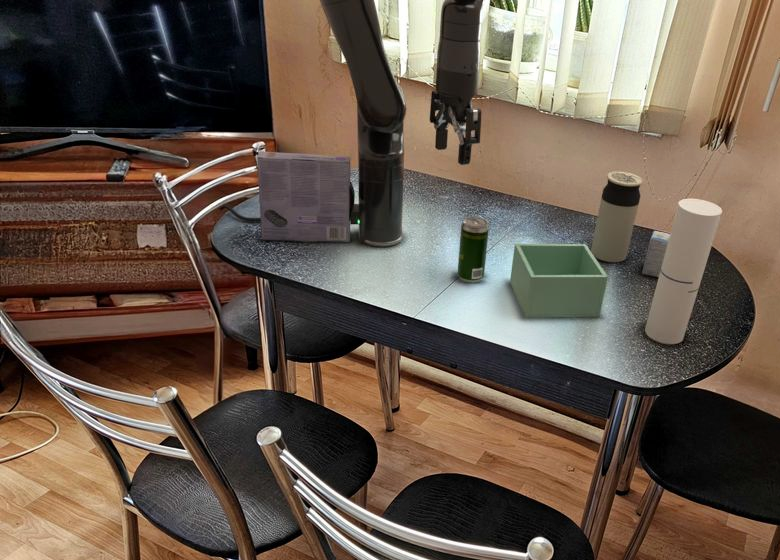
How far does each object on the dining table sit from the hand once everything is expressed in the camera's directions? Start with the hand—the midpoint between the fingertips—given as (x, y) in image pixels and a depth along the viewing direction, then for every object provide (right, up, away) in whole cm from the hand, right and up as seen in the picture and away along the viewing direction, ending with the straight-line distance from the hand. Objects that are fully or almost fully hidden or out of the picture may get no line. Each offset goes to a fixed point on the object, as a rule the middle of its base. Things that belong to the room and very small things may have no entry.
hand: (452, 156), depth 128 cm
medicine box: (+44, -20, +19) cm, 52 cm away
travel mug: (+34, -16, +24) cm, 44 cm away
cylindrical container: (+39, -34, -2) cm, 52 cm away
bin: (+20, -27, +5) cm, 33 cm away
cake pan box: (-31, -13, +17) cm, 38 cm away
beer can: (+3, -22, +9) cm, 24 cm away
